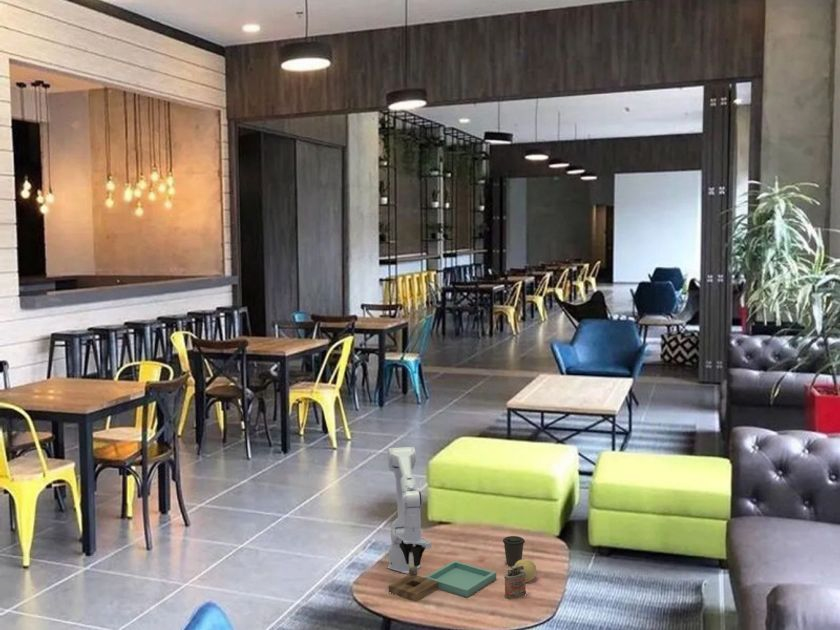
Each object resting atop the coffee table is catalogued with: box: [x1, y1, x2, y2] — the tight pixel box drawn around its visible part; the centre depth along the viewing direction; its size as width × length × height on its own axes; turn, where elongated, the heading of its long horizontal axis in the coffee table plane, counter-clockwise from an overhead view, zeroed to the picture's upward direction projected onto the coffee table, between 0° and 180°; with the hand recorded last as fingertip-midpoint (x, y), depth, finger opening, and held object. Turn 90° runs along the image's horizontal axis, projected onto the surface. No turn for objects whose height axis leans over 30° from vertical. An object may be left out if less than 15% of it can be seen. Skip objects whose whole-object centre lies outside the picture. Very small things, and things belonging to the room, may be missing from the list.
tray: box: [423, 560, 497, 599], centre depth 285 cm, size 18×18×3 cm
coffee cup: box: [502, 535, 526, 568], centre depth 299 cm, size 8×8×10 cm
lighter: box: [503, 565, 527, 600], centre depth 274 cm, size 8×3×10 cm, turn 117°
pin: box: [408, 550, 419, 576], centre depth 278 cm, size 3×3×8 cm
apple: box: [514, 558, 537, 583], centre depth 286 cm, size 8×8×8 cm
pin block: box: [388, 574, 439, 602], centre depth 279 cm, size 12×12×2 cm
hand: (413, 564), depth 278 cm, fingers closed on pin, 3 cm apart
